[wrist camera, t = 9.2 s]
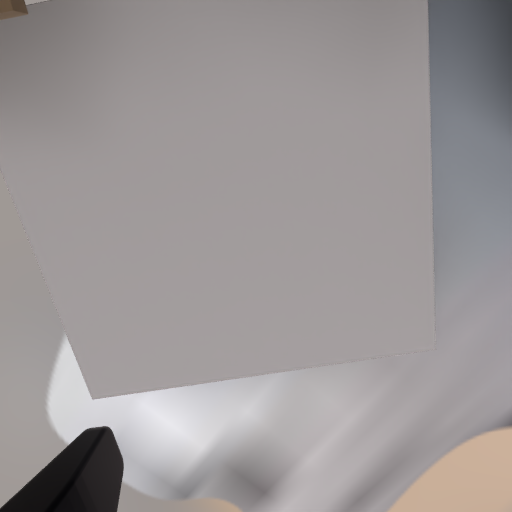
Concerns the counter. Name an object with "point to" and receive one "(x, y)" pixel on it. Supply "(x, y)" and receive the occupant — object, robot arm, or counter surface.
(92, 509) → the robot arm
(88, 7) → the mat
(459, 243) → the counter surface
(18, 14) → the lid
